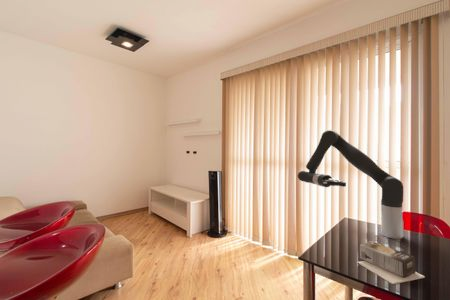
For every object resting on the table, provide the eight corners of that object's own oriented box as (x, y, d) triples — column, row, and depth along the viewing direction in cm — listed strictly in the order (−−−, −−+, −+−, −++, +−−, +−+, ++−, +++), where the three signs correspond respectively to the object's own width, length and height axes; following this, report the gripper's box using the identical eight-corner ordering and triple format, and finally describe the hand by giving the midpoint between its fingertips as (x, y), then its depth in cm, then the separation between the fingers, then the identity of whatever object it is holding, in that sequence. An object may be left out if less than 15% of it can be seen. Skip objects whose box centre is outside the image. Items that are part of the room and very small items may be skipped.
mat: (386, 258, 91) (386, 257, 91) (424, 277, 77) (424, 276, 77) (357, 262, 88) (357, 261, 88) (392, 284, 73) (392, 283, 73)
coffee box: (371, 240, 94) (415, 256, 80) (371, 253, 94) (415, 272, 80) (359, 244, 90) (404, 262, 76) (359, 258, 90) (404, 279, 76)
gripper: (313, 174, 125) (334, 178, 108) (331, 173, 128) (354, 177, 112) (313, 186, 125) (334, 192, 108) (331, 185, 128) (354, 190, 111)
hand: (344, 184), depth 110 cm, fingers closed
